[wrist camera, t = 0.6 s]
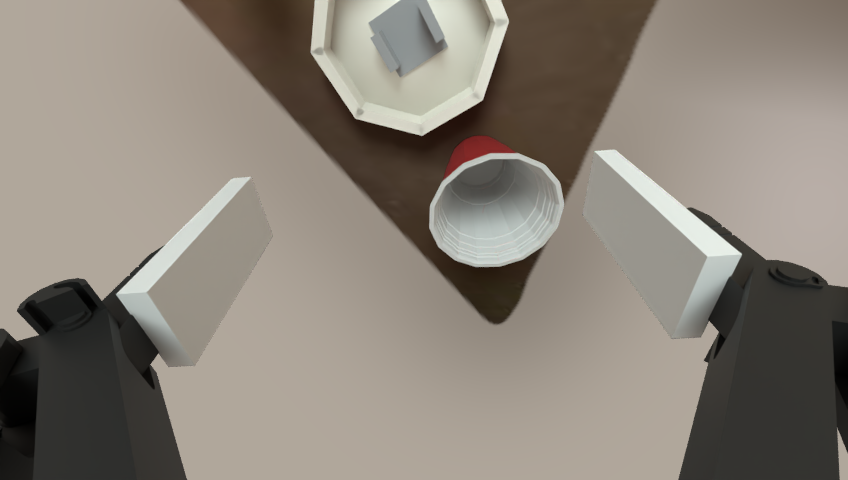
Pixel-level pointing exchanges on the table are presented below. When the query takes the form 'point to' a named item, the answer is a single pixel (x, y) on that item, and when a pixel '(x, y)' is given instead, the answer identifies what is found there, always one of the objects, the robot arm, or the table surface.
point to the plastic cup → (494, 204)
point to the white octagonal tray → (408, 57)
